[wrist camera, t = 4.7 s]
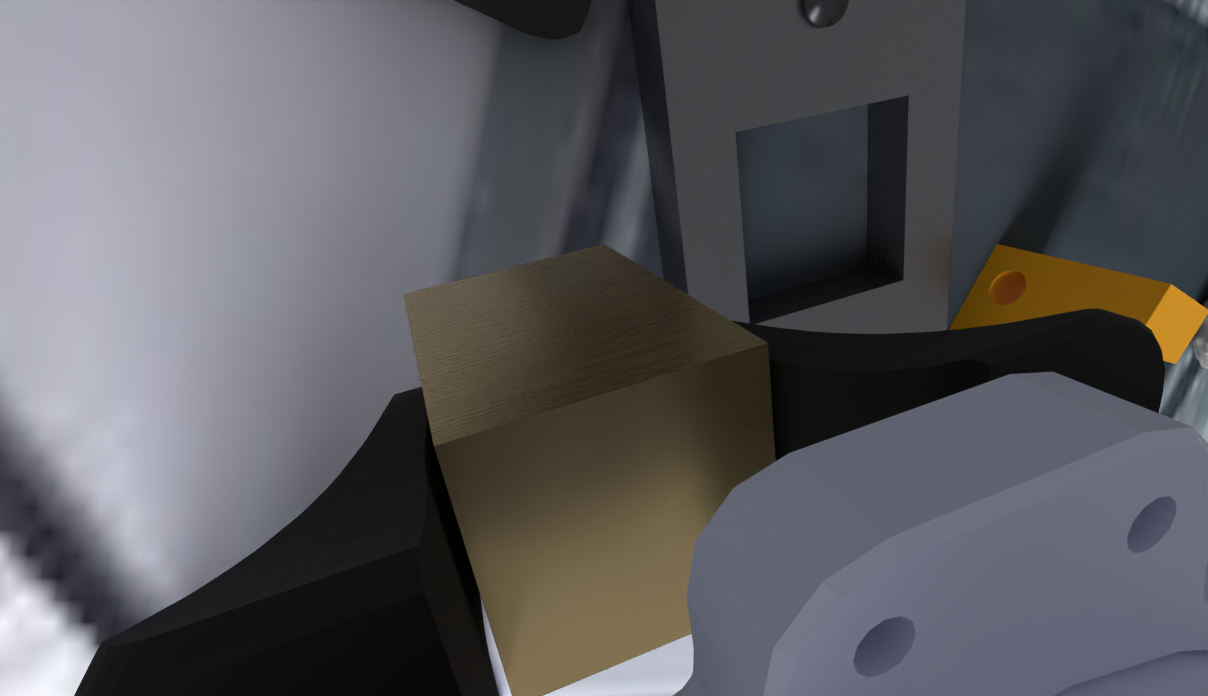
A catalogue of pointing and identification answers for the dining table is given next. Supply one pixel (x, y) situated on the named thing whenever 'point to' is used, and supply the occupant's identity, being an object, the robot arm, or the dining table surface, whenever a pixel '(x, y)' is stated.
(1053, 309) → the pipe clamp
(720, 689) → the robot arm
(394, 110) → the dining table surface
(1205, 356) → the sitting furry creature
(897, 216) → the metal plate with hole
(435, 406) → the brass block
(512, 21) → the smart home device
